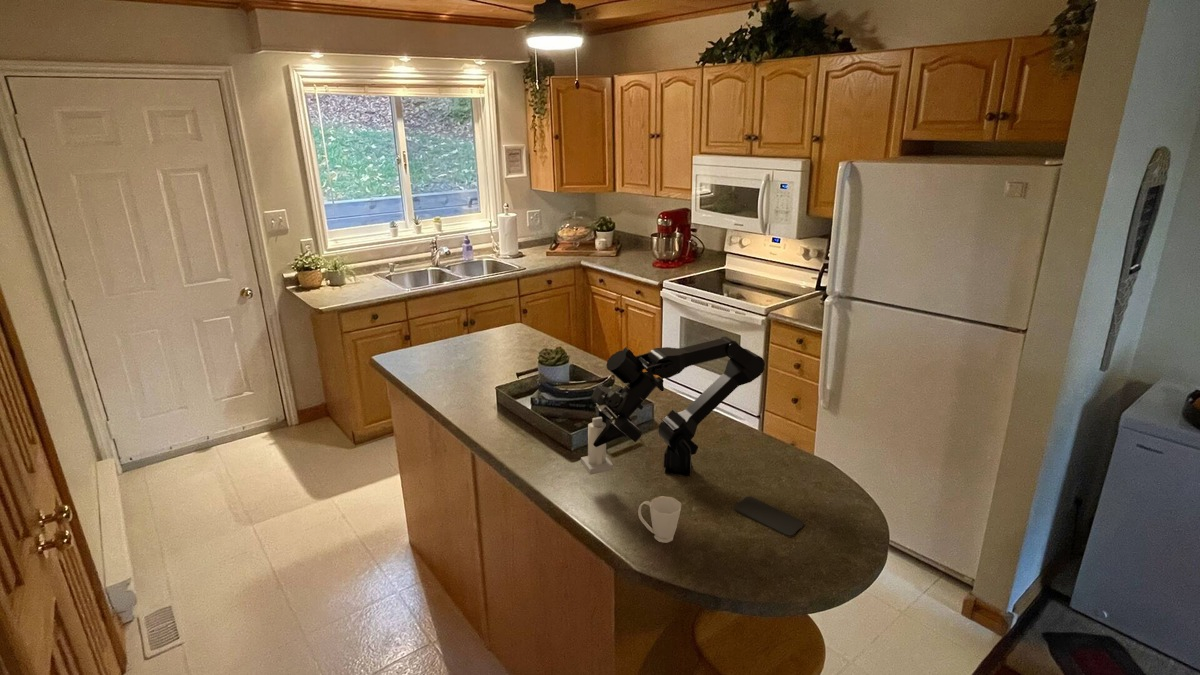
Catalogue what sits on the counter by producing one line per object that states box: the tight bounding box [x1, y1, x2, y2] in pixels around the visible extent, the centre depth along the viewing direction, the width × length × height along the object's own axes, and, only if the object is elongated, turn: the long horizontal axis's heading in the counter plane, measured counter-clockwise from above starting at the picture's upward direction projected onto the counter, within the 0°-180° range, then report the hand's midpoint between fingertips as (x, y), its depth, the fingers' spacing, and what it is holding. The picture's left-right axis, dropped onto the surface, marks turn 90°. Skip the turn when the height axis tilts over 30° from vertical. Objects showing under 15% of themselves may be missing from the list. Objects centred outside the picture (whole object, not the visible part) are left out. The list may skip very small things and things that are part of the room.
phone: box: [733, 495, 805, 537], centre depth 144 cm, size 7×1×15 cm
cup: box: [637, 495, 682, 544], centre depth 137 cm, size 7×10×8 cm
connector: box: [580, 417, 614, 476], centre depth 151 cm, size 6×6×13 cm
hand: (591, 442), depth 151 cm, fingers closed on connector, 3 cm apart
